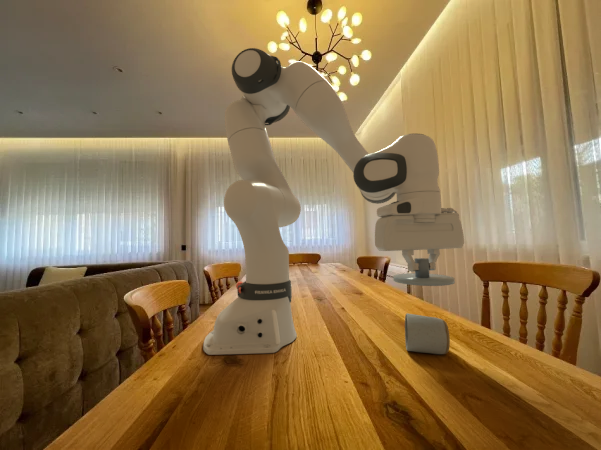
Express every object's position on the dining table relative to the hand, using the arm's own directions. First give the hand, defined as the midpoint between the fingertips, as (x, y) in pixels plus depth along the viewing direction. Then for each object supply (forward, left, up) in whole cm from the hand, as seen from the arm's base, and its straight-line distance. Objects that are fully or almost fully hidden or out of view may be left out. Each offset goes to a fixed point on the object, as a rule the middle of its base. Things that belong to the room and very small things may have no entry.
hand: (421, 270), depth 55 cm
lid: (0, 0, -2) cm, 2 cm away
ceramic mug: (+1, +2, -18) cm, 18 cm away
